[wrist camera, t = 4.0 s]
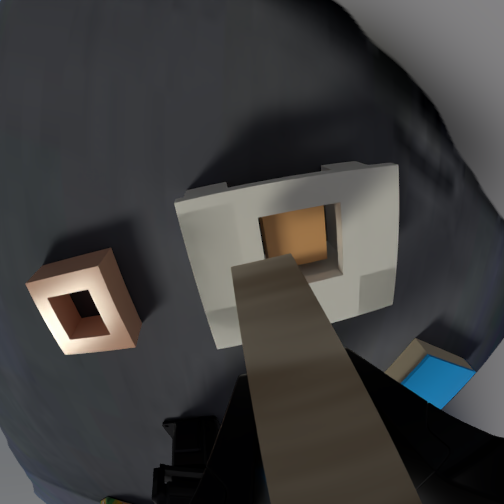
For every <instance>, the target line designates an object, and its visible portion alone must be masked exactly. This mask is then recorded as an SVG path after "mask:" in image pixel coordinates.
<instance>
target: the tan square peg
mask: <svg viewBox="0 0 504 504" xmlns="http://www.w3.org/2000/svg"><path fill="white" fill-rule="evenodd" d="M231 273H232V280H233V287H234V294H235V300H236V307H237V314H238V320H239V326H240V333H241V339H242V345H243V352H244V358H245V364H246V370H247V376H248V382H249V388H250V394H251V400H252V405H253V411H254V417H255V422H256V428H257V434H258V439H259V445H260V450H261V455H262V461H263V466H264V471H265V476H266V482H267V487H268V492H269V497H270V502H271V504H422V502H421V500H420V498H419V496H418V494H417V491H416V489H415V487H414V485H413V483H412V481H411V479H410V476H409V474H408V472H407V470H406V468H405V466H404V464H403V462H402V460H401V458H400V455H399V453H398V451H397V449H396V447H395V445H394V443H393V441H392V439H391V437H390V435H389V433H388V431H387V429H386V427H385V425H384V423H383V421H382V419H381V417H380V415H379V413H378V411H377V409H376V407H375V405H374V403H373V401H372V400H371V398H370V396H369V394H368V392H367V390H366V388H365V386H364V384H363V382H362V380H361V378H360V377H359V375H358V373H357V371H356V369H355V367H354V365H353V363H352V362H351V360H350V358H349V356H348V354H347V352H346V350H345V349H344V347H343V345H342V343H341V341H340V339H339V337H338V336H337V334H336V332H335V330H334V328H333V327H332V325H331V323H330V321H329V319H328V318H327V316H326V314H325V312H324V310H323V309H322V307H321V305H320V303H319V301H318V300H317V298H316V296H315V294H314V293H313V291H312V289H311V287H310V286H309V284H308V282H307V280H306V279H305V277H304V275H303V273H302V272H301V270H300V268H299V266H298V265H297V263H296V261H295V259H294V258H293V256H292V254H291V253H289V254H285V255H281V256H277V257H272V258H268V259H264V260H259V261H255V262H251V263H246V264H242V265H237V266H233V267H231Z"/></svg>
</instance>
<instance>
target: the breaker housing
mask: <svg viewBox="0 0 504 504" xmlns="http://www.w3.org/2000/svg"><path fill="white" fill-rule="evenodd" d="M174 205H175V208H176V212H177V216H178V220H179V224H180V228H181V231H182V235H183V239H184V242H185V246H186V250H187V253H188V257H189V260H190V264H191V267H192V271H193V274H194V277H195V281H196V284H197V287H198V291H199V294H200V297H201V301H202V304H203V307H204V310H205V313H206V316H207V320H208V323H209V326H210V329H211V332H212V335H213V338H214V341H215V344H216V347H217V349H222V348H227V347H232V346H237V345H242V339H241V333H240V326H239V320H238V314H237V307H236V300H235V294H234V287H233V280H232V273H231V267H233V266H237V265H242V264H246V263H251V262H255V261H259V260H264V259H266V255H264V252H263V246H262V240H261V234H260V228H259V222H258V218H259V217H264V216H269V215H274V214H279V213H284V212H290V211H295V210H300V209H305V208H311V207H316V206H322V205H325V214H326V227H327V241H326V245H327V259H324V260H319V261H315V262H310V263H306V264H302V265H298V266H299V268H300V270H301V272H302V273H303V275H304V277H305V279H306V280H307V282H308V284H309V286H310V287H311V289H312V291H313V293H314V294H315V296H316V298H317V300H318V301H319V303H320V305H321V307H322V309H323V310H324V312H325V314H326V316H327V318H328V319H329V321H330V323H334V322H337V321H341V320H344V319H348V318H351V317H355V316H358V315H361V314H365V313H368V312H371V311H374V310H378V309H381V308H384V307H387V306H390V305H393V298H394V289H395V279H396V267H397V253H398V233H399V170H398V165H397V164H394V163H382V164H373V165H366V164H363V163H360V162H357V161H350V162H342V163H335V164H327V165H321V171H320V172H313V173H306V174H300V175H294V176H288V177H282V178H276V179H271V180H265V181H260V182H254V183H249V184H244V185H239V186H234V187H229V188H228V187H227V183H226V182H222V183H218V184H213V185H208V186H204V187H199V188H195V189H190V190H186V192H185V195H184V197H183V198H179V199H176V200H175V202H174Z"/></svg>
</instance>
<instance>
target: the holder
mask: <svg viewBox="0 0 504 504" xmlns="http://www.w3.org/2000/svg"><path fill="white" fill-rule="evenodd" d="M26 286H27V288H28V290H29V292H30V294H31V296H32V298H33V300H34V302H35V304H36V306H37V308H38V309H39V311H40V313H41V315H42V317H43V319H44V320H45V322H46V324H47V326H48V327H49V329H50V331H51V333H52V334H53V336H54V338H55V339H56V341H57V342H58V344H59V346H60V347H61V349H62V350H63V352H64V354H65V355H69V354H81V353H91V352H101V351H110V350H118V349H126V348H134V347H136V344H137V340H138V336H139V332H140V329H141V325H142V322H141V320H140V318H139V316H138V313H137V311H136V309H135V307H134V304H133V302H132V300H131V297H130V295H129V293H128V290H127V288H126V285H125V283H124V280H123V278H122V275H121V273H120V270H119V267H118V265H117V262H116V259H115V257H114V254H113V251H112V248H107V249H103V250H99V251H95V252H91V253H87V254H84V255H80V256H76V257H72V258H68V259H65V260H61V261H57V262H54V263H50V264H46V265H43V266H41V267H40V269H39V270H38V271H37V272H36V273H35V274H34V275H33V276H32V277H31V278H30V279H29V280H28V281H27V283H26ZM83 290H89V292H90V294H91V296H92V299H93V301H94V303H95V305H96V307H97V309H98V311H99V313H100V315H97V316H91V317H85V318H81V316H80V314H79V313H78V311H77V309H76V307H75V305H74V303H73V301H72V299H71V296H70V294H69V293H74V292H78V291H83Z"/></svg>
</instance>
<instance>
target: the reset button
mask: <svg viewBox="0 0 504 504" xmlns="http://www.w3.org/2000/svg"><path fill="white" fill-rule="evenodd" d="M259 219H260V225H261V231H262V237H263V243H264V249H265V255H266V259H268V258H272V257H277V256H281V255H285V254H289V253H291V254H292V256H293V258H294V259H295V261H296V263H297V265H302V264H306V263H310V262H315V261H319V260H324V259H327V245H326V230H325V217H324V205H322V206H316V207H311V208H305V209H300V210H295V211H290V212H284V213H279V214H274V215H269V216H264V217H259Z"/></svg>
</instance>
